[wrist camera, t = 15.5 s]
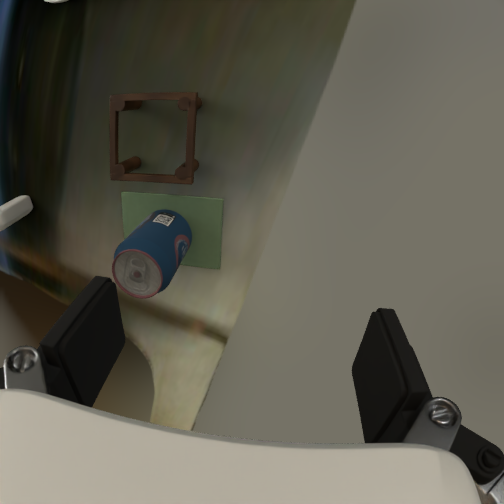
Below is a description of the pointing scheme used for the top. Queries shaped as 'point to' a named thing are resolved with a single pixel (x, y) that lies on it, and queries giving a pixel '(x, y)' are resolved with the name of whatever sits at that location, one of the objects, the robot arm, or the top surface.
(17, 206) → the eye dropper bottle
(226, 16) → the top surface
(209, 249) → the mat
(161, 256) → the soda can
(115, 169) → the can rack
